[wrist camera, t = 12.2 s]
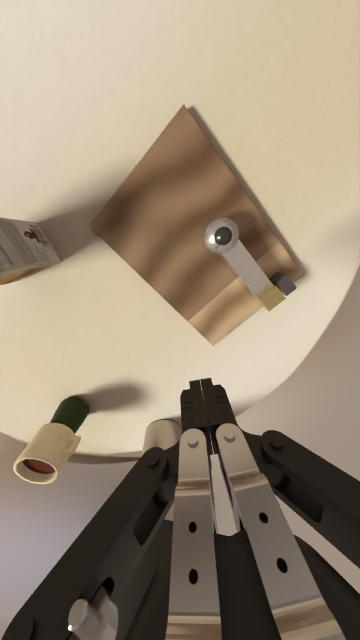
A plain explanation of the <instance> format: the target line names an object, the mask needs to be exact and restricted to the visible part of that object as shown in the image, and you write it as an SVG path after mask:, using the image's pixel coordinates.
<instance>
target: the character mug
mask: <svg viewBox="0 0 360 640" xmlns="http://www.w3.org/2000/svg"><path fill="white" fill-rule="evenodd" d="M88 413H89V409H88V407H87V406H86V405H85V404H84V403H83V402H81V401H79V400H78V399H73V398H69V399H65V400H64V401H62V402H61V403H60V405H59V407H58V408H57V410H56V412H55V414H54V416H53V418H52V420H51V422H50V423H48V424H46V425H43V426H42V427H41V428H40V429H39V431H38V432H37V433H36V434H35V436H34V437H33V439H32V440H31V441H30V443H29V444H28V445H27V447H26V448H25V449H24V451H23V452H22V454H21V455H20V456H19V458H18V459H17V460H16V462H15V464H14V471H15V473H16V474H17V475H18V476H19V477H21V478H22V479H24V480H26V481H28V482H31V483H36V484H49V483H51V482H54V481H55V480H56V479H57V478H58V476H59V475H60V473H61V471H62V469H63V467H64V465H65V464H66V462H67V460H68V458H69V456H70V455H72V454H73V453H74V452H75V450H76V448H77V446H78V444H79V442H80V439H81V436H75V433H76V431H77V430H78V429H79V427H80V426H81V424H82V423H83V422H84V420H85V418H86V417H87V415H88Z"/></svg>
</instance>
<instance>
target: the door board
mask: <svg viewBox="0 0 360 640" xmlns="http://www.w3.org/2000/svg"><path fill="white" fill-rule="evenodd" d="M218 218H229V219H231V220H233V221H234V222H235V224H236V225H237V227H238V230H239V238H238V239H239V240H240V242H241V243H242V244H243V246H244V247H245V248H246V250H247V251H248V252H249V254H250V255H251V256H252V258H253V259H254V260H255V262H256V263H257V264H258V266H259V267H260V268H261V270H262V271H263V272H264V274H265V275H266V276H267V278H268V279H270V278H271V277H272V276H273V275H274V274H276V273H277V272H280V273H284V274H287V275H288V276H289V278H290V279H291V281H292V282H294V281H295V280H296V279H298V278H299V277H300V276H301V275H303V274H302V273H301V271H300V270H299V268H298V267H297V265H296V264H295V263H294V261H293V260H292V258H291V257H290V255H289V254H288V253H287V251H286V250H285V248H284V247H283V245H282V244H281V243H280V241H279V240H278V238H277V237H276V235H275V234H274V233H273V231H272V230H271V228H270V227H269V225H268V224H267V223H266V221H265V220H264V218H263V217H262V215H261V214H260V213H259V211H258V210H257V208H256V207H255V205H254V204H253V203H252V201H251V200H250V198H249V197H248V195H247V194H246V193H245V191H244V190H243V188H242V187H241V185H240V184H239V183H238V181H237V180H236V178H235V177H234V175H233V174H232V173H231V171H230V170H229V168H228V167H227V165H226V164H225V163H224V161H223V160H222V158H221V157H220V155H219V154H218V153H217V151H216V150H215V148H214V147H213V145H212V144H211V143H210V141H209V140H208V138H207V137H206V135H205V134H204V133H203V131H202V130H201V128H200V127H199V125H198V124H197V123H196V121H195V120H194V118H193V117H192V115H191V114H190V113H189V111H188V110H187V108H186V107H185V105H183V106H182V107H181V108H180V110H179V111H178V112H177V114H176V115H175V116H174V118H173V119H172V120H171V121H170V123H169V124H168V125H167V127H166V128H165V129H164V131H163V132H162V133H161V134H160V136H159V137H158V138H157V140H156V141H155V142H154V143H153V145H152V146H151V147H150V149H149V150H148V151H147V153H146V154H145V155H144V156H143V158H142V159H141V160H140V162H139V163H138V164H137V166H136V167H135V168H134V169H133V171H132V172H131V173H130V175H129V176H128V177H127V179H126V180H125V181H124V182H123V184H122V185H121V186H120V188H119V189H118V190H117V192H116V193H115V194H114V195H113V197H112V198H111V199H110V201H109V202H108V203H107V205H106V206H105V207H104V208H103V210H102V211H101V212H100V214H99V215H98V216H97V218H96V219H95V220H94V221H93V223H92V224H91V225H90V228H91V229H92V230H93V231H94V232H95V233H96V234H97V235H99V236H100V237H101V238H102V239H103V240H104V241H105V242H106V243H107V244H108V245H109V246H110V247H111V248H112V249H113V250H114V251H115V252H116V253H117V254H118V255H119V256H120V257H121V258H122V259H123V260H125V261H126V262H127V263H128V264H129V265H130V266H131V267H132V268H133V269H134V270H135V271H136V272H137V273H138V274H139V275H140V276H141V277H142V278H143V279H144V280H145V281H146V282H147V283H148V284H149V285H150V286H152V287H153V288H154V289H155V290H156V291H157V292H158V293H159V294H160V295H161V296H162V297H163V298H164V299H165V300H166V301H167V302H168V303H169V304H170V305H171V306H172V307H173V308H174V309H175V310H176V311H178V312H179V313H180V314H181V315H182V316H183V317H184V318H185V319H186V320H187V321H188V322H189V323H190V324H191V325H192V326H193V327H194V328H195V329H196V330H197V331H198V332H199V333H200V334H201V335H202V336H203V337H205V338H206V339H207V340H208V341H209V342H210V343H211V344H212V345H213V346H214V345H215V344H216V343H218V342H219V341H220V340H221V339H223V338H224V337H225V336H226V335H228V334H229V333H230V332H231V331H233V330H234V329H235V328H236V327H238V326H239V325H240V324H241V323H243V322H244V321H245V320H246V319H248V318H249V317H250V316H251V315H253V314H254V313H255V312H256V311H258V310H259V309H260V308H261V307H263V306H262V305H260V304H259V303H258V302H257V301H256V300H255V299H254V298H253V297H252V295H251V294H250V293H249V292H248V290H247V289H246V288H245V287H244V285H243V284H242V283H241V282H240V281H239V279H238V278H237V277H236V276H235V274H234V273H233V272H232V271H231V269H230V268H229V267H228V266H227V265H226V263H225V262H224V261H223V260H222V258H221V257H220V256H219V255H218V254H217V253H213V252H211V251H209V250H207V249H206V248H205V246H204V244H203V241H202V235H203V231H204V229H205V227H206V226H207V225H208V224H209V223H211V222H212V221H214V220H216V219H218Z"/></svg>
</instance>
